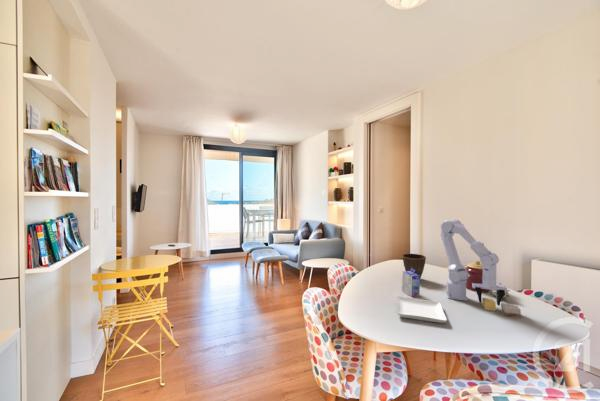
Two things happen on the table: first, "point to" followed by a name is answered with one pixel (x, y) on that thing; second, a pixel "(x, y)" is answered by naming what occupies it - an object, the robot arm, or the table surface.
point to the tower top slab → (510, 308)
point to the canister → (475, 275)
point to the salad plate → (420, 309)
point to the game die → (496, 292)
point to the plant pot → (414, 263)
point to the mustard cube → (489, 304)
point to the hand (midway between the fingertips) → (489, 303)
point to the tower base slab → (511, 314)
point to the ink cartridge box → (411, 283)
